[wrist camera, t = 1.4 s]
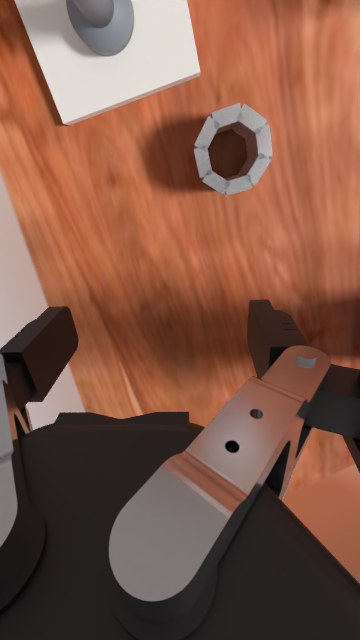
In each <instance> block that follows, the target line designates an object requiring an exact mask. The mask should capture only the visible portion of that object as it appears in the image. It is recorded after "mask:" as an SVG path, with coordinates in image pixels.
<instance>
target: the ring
mask: <svg viewBox="0 0 360 640" xmlns="http://www.w3.org/2000/svg"><path fill="white" fill-rule="evenodd" d="M266 122H267V120H266V119H265V118H264V117H262V116H261V115H259V114H258V113H257V112H255V111H254V110H253V109H251V108H250V107H249V106H247V105H246V104H243V105H242V107H241V106H240V103H238V104H235V105H232V106H229V107H226V108H223V109H221V110H218V111H215V112H212V114H211V117H210V116H208V118H207V120H206V122H205V124H204V126H203V128H202V130H201V132H200V134H199V136H198V138H197V140H196V142H195V144H194V155H195V159H196V164H197V169H198V173H199V177H200V178H201V180H202V182H204V183H205V184H207V185H209V186H210V187H212V188H213V189H215V190H216V191H218V192H220V193H221V194H223V195H224V193H225V194H226V195H231V194H234V193H237V192H241V191H244V190H247V189H251V188H252V185H256V184H257V182H258V181H259V179H260V177H261V176H262V174H263V173H264V171H265V170H266V168H267V166H268V165H269V163H270V162H271V159H269V158H268V157H269V156H272V155H273V154H272V145H271V135H270V126H269V124H268V125H265V123H266ZM264 125H265V126H264ZM229 129H232V130H233V131H234V132H236V133H237V134H239V135H240V136H242V137H243V138H244V139H245V143H246V150H247V157H248V158H247V160H246V161H245V163H244V165H243V166H242V168H241V170H240V171H239V173H238V174H236V175H233V176H229V177H226V178H222V177H221V176H219V175H218V174H216V173H215V172H213V171H212V169H211V164H210V159H209V154H208V147H209V145H210V143H211V141H212V139H213V137H214V135H215V134H218V133H221V132H223V131H226V130H229Z"/></svg>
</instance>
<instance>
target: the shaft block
mask: <svg viewBox="0 0 360 640" xmlns="http://www.w3.org/2000/svg"><path fill="white" fill-rule="evenodd" d="M14 1H15V3H16V6H17V8H18V11H19V13H20V16H21V18H22V21H23V23H24V26H25V28H26V31H27V33H28V36H29V38H30V41H31V43H32V46H33V49H34V51H35V54H36V56H37V59H38V61H39V64H40V66H41V69H42V71H43V74H44V76H45V79H46V81H47V84H48V86H49V89H50V91H51V94H52V96H53V99H54V101H55V104H56V106H57V109H58V112H59V114H60V117H61V119H62V122H63V124H65V125H68V126H70V125H72V124H75V123H77V122H80V121H83V120H85V119H88V118H91V117H93V116H96V115H99V114H101V113H104V112H107V111H109V110H112V109H115V108H117V107H120V106H123V105H125V104H128V103H130V102H133V101H136V100H138V99H141V98H144V97H146V96H149V95H152V94H154V93H157V92H160V91H162V90H165V89H168V88H170V87H173V86H176V85H178V84H181V83H183V82H186V81H189V80H191V79H194V78H197V77H199V76H200V67H199V62H198V57H197V51H196V46H195V41H194V36H193V30H192V25H191V20H190V14H189V9H188V4H187V0H14Z"/></svg>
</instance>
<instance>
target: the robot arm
mask: <svg viewBox="0 0 360 640" xmlns="http://www.w3.org/2000/svg"><path fill="white" fill-rule="evenodd" d="M247 339H248V346H249V349H250V353H251V356H252V360H253V363H254V367H255V370H256V374H257V377H258V378H257V377H254V376H252V377H250V378H249V379H248V380H247V381H246V382H245V383H244V384H243V386H242V387H241V388H240V389H239V390H238V391H237V392H236V393H235V395H234V396H233V397H232V398H231V399H230V400H229V401H228V402H227V404H226V405H225V406H224V407H223V408H222V409H221V410H220V411H219V413H218V414H217V415H216V416H215V417H214V418H213V419H212V421H211V422H210V423H209V424H208V425H207V426H206V427H203V426H200V425H197V424H194V423H190V422H189V412H154V413H150V414H145V415H140V416H135V417H130V418H126V419H117V418H113V417H108V416H104V415H100V414H95V413H91V412H85V413H60V414H59V415H58V417H57V419H56V421H55V423H53V424H49V425H46V426H43V427H41V428H38V429H35V430H33V429H32V424H31V420H30V417H29V412H28V410H27V408H26V406H25V405H26V404H27V403H28V402H42V401H43V400H44V398H45V397H46V395H47V394H48V392H49V391H50V389H51V388H52V386H53V384H54V383H55V382H56V380H57V379H58V377H59V375H60V374H61V372H62V371H63V369H64V368H65V366H66V365H67V363H68V362H69V360H70V359H71V357H72V356H73V354H74V353H75V351H76V349H77V347H78V335H77V332H76V328H75V325H74V321H73V318H72V314H71V311H70V309H69V308H68V307H67V306H62V307H49V308H47V309H46V310H45V311H44V312H43V313H42V314H41V315H40V316H39V317H38V318H37V319H35V320H34V321H32V322H30V323H28V324H27V325H26V326H25V327H24V328H23V329H22V330H21V332H18V333H17V335H15V337H13V338H12V339H11V340H10V341H9V342H8V343H7V344H6V345H4V346H3V347H2V348H1V349H0V640H360V584H359V583H358V581H357V580H356V579H355V578H354V577H353V576H352V575H351V574H350V573H349V572H348V571H347V570H346V569H345V568H344V567H343V566H342V565H341V563H340V562H339V561H338V560H337V559H336V558H335V557H334V556H333V555H332V554H331V553H330V552H329V551H328V550H327V549H326V547H325V546H324V545H323V544H322V543H321V542H320V541H319V540H318V539H317V538H316V537H315V536H314V535H313V534H312V533H311V532H310V531H309V529H308V528H307V527H306V526H305V525H304V524H303V523H302V522H301V521H300V520H299V519H298V518H297V517H296V516H295V515H294V513H293V512H292V511H291V510H290V509H289V508H288V507H287V506H286V505H285V504H284V503H283V502H282V499H283V497H284V495H285V492H286V490H287V488H288V485H289V482H290V479H291V476H292V474H293V471H294V469H295V466H296V464H297V462H298V460H299V458H300V456H301V454H302V452H303V450H304V448H305V446H306V444H307V442H308V440H309V438H310V436H311V434H312V432H313V430H314V428H317V429H321V430H325V431H329V432H333V433H337V434H340V435H342V436H343V438H344V440H345V442H346V444H347V447H348V449H349V451H350V453H351V455H352V457H353V459H354V462H355V464H356V466H357V468H358V470H359V472H360V370H359V369H353V368H348V367H342V366H337V365H334V364H331V361H330V358H329V357H328V356H327V355H326V354H325V353H324V352H322V351H320V350H318V349H316V348H313V347H309V345H308V343H307V342H306V340H305V339H304V337H303V335H302V334H301V332H300V331H299V330H298V327H297V326H296V324H295V323H294V321H293V319H292V318H291V316H289V315H288V314H286V313H285V312H283V311H282V310H275V311H274V309H273V307H272V305H271V303H270V301H269V300H250V303H249V315H248V330H247Z"/></svg>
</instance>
